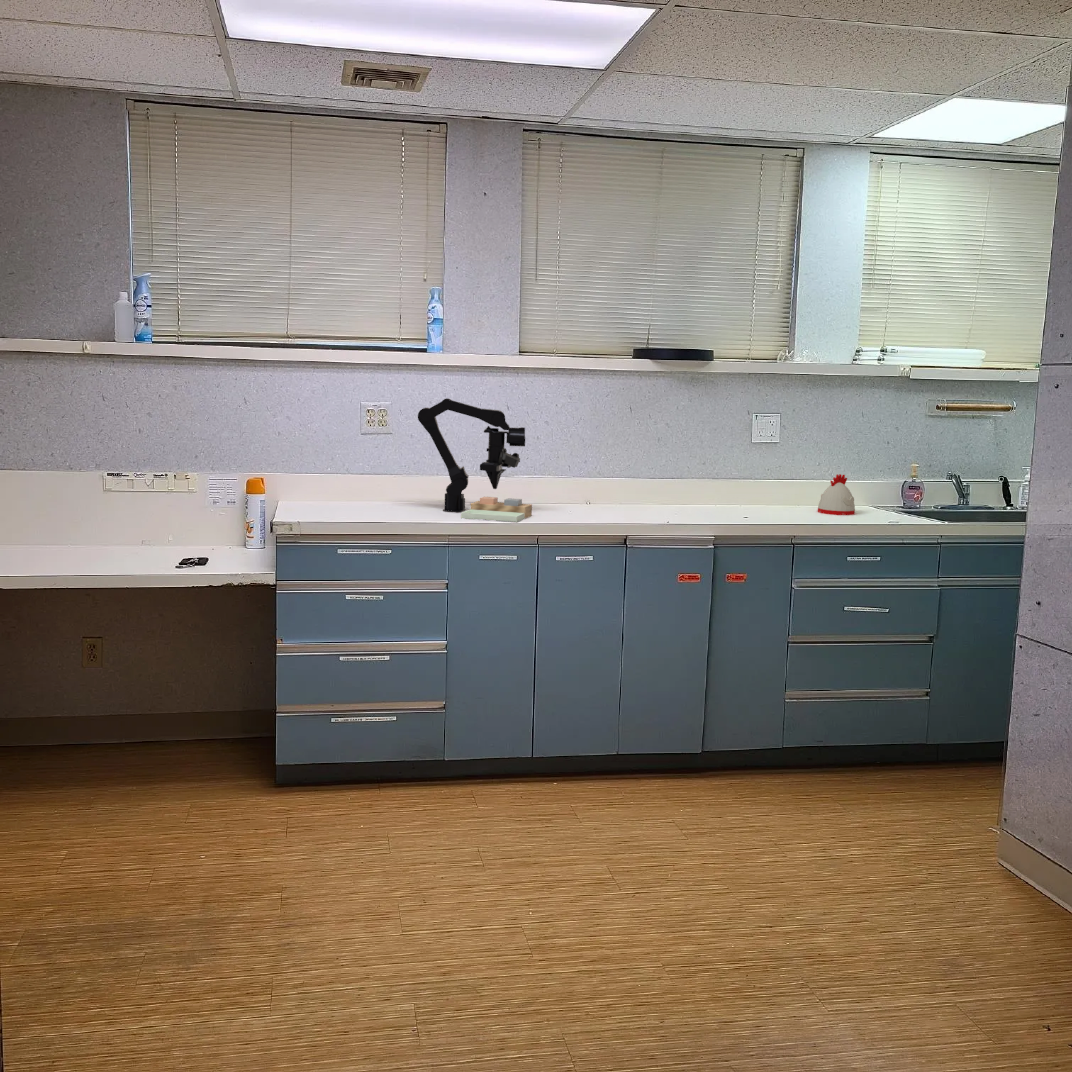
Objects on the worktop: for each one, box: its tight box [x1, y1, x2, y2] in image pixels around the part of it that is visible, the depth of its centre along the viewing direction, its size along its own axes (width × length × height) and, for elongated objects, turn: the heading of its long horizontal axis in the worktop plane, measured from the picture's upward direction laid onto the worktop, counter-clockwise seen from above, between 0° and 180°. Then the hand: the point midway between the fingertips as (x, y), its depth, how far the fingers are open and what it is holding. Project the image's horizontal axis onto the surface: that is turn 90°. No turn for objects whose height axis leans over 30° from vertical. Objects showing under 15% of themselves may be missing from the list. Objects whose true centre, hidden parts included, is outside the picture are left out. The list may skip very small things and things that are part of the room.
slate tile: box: [503, 497, 523, 506], centre depth 378 cm, size 5×5×2 cm
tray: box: [460, 508, 526, 523], centre depth 371 cm, size 20×10×2 cm, turn 75°
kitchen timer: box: [817, 474, 856, 516], centre depth 416 cm, size 14×14×15 cm
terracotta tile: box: [479, 496, 499, 505], centre depth 380 cm, size 5×5×2 cm
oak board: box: [470, 500, 533, 519], centre depth 380 cm, size 20×8×4 cm, turn 74°
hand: (495, 488), depth 387 cm, fingers closed
